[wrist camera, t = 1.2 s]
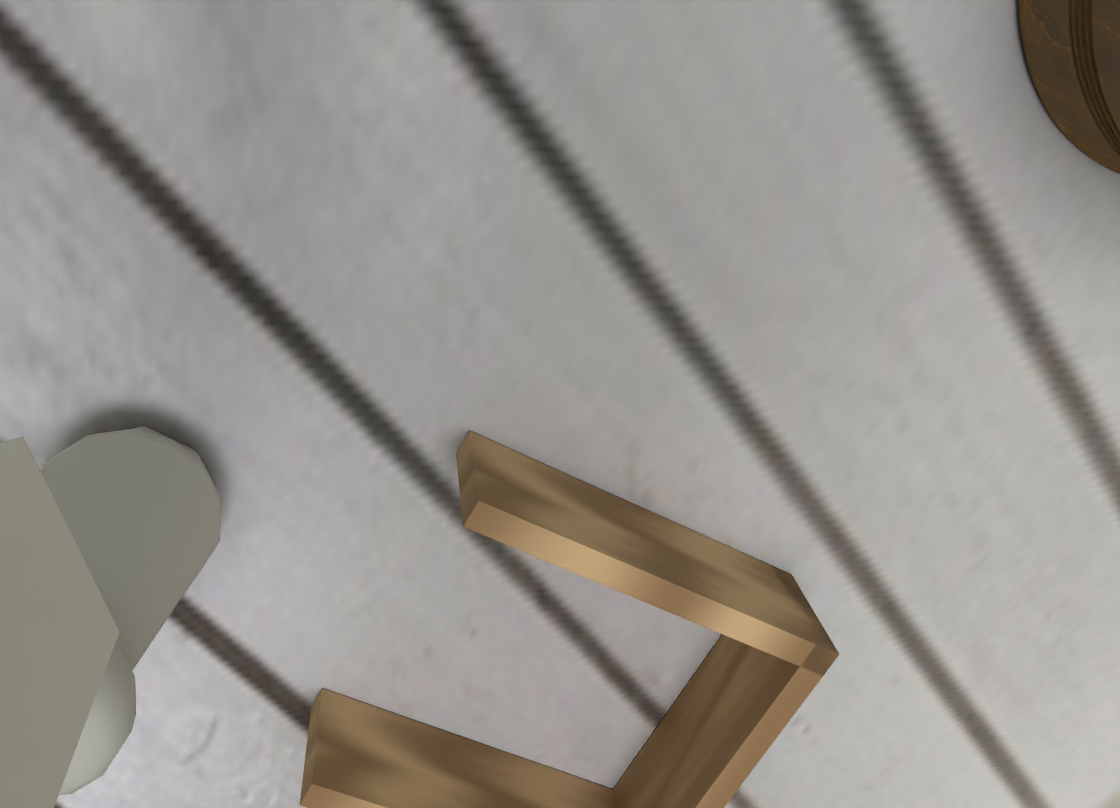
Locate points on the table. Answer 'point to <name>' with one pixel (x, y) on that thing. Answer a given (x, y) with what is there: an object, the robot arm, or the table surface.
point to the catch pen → (636, 570)
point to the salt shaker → (131, 557)
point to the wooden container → (1077, 70)
